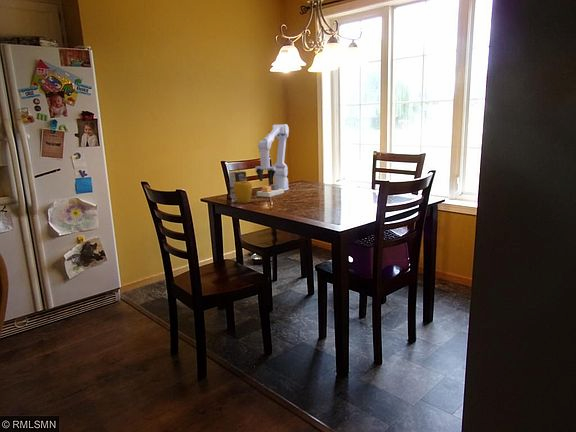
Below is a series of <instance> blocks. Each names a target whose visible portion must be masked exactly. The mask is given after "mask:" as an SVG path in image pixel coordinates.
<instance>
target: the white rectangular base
mask: <svg viewBox="0 0 576 432" xmlns="http://www.w3.org/2000/svg"><path fill="white" fill-rule="evenodd" d="M268 186H271V192H268V193H267V192H262V190H259V191H256V197H259V198H269V199H270V198H273V197H277V196H279V195H283V194H285V191H284V189H279V188H278V184H275V183H273V184H269V185H268Z"/></svg>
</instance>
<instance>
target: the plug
mask: <svg viewBox="0 0 576 432" xmlns="http://www.w3.org/2000/svg"><path fill="white" fill-rule="evenodd" d="M261 191H262V192H267V193H268V192H271V186H269V185H265V186H262V187H261Z"/></svg>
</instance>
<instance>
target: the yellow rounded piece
mask: <svg viewBox="0 0 576 432" xmlns="http://www.w3.org/2000/svg"><path fill="white" fill-rule="evenodd" d="M234 193H235V197H236V199H235V200H236V201H237V202H239V203H242V204H245V203H248V202H250V199H251V197H252V193H253V185H252V182H250V181H247V180H246V181H242V182H236V183H234Z"/></svg>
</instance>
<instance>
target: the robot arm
mask: <svg viewBox="0 0 576 432" xmlns="http://www.w3.org/2000/svg"><path fill="white" fill-rule="evenodd" d="M289 128H290V127H289V126H288V124H287V123H285V124H284V123H283V124H273V125H272V127H271V129H272V130H271V131H270V133H267V134H266V135H265V137H264V138H263V139H262V140H260V141H258V144H257V148H258V151H259V154H260V155H259V156H260V157H259V158H260V166H259V165H258V166H254V167H255V168H254V169H255V173H256V174H257V176H258V179H259V182H263V181H264V180H263V179H264V177H263V175H264V171H267V173H268V181H269V182H270V183H273V181H274V184H278V188H279V189H284V192H285V191H288V190H290V188H289V179H288V177H287V176H288V174H289V170H288V169H289V168H288V165H287V164H286V163H285V160H286V159H285V157H286V146H287V138H289V134H290V129H289ZM275 138H277V139H278V145H277V146H278V147H277V154H276V155H277V156H276V158H277V159H276V162H275V163H274V164H273V165H272V166H271V163H270V161H271V160H270V159H271V158H270V149H271V148H272V143H274V141H275ZM273 178H274V180H273Z"/></svg>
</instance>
